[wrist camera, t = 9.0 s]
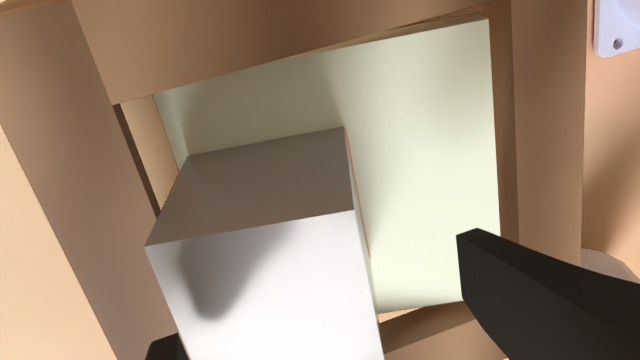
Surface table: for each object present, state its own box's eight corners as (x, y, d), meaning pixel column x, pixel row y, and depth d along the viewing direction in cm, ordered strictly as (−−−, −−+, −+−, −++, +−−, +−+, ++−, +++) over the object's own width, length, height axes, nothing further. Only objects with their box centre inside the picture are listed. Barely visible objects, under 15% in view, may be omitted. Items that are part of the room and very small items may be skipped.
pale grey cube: (344, 126, 17) (354, 209, 13) (369, 257, 19) (385, 367, 15) (187, 156, 17) (143, 246, 13) (230, 280, 20) (205, 394, 15)
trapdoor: (479, 11, 17) (489, 19, 16) (495, 277, 21) (504, 296, 20) (157, 75, 17) (147, 87, 16) (240, 317, 22) (236, 337, 21)
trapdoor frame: (457, -108, 21) (590, -124, 15) (482, 241, 28) (578, 329, 22) (16, -6, 18) (-47, 29, 12) (171, 353, 25) (181, 487, 19)
